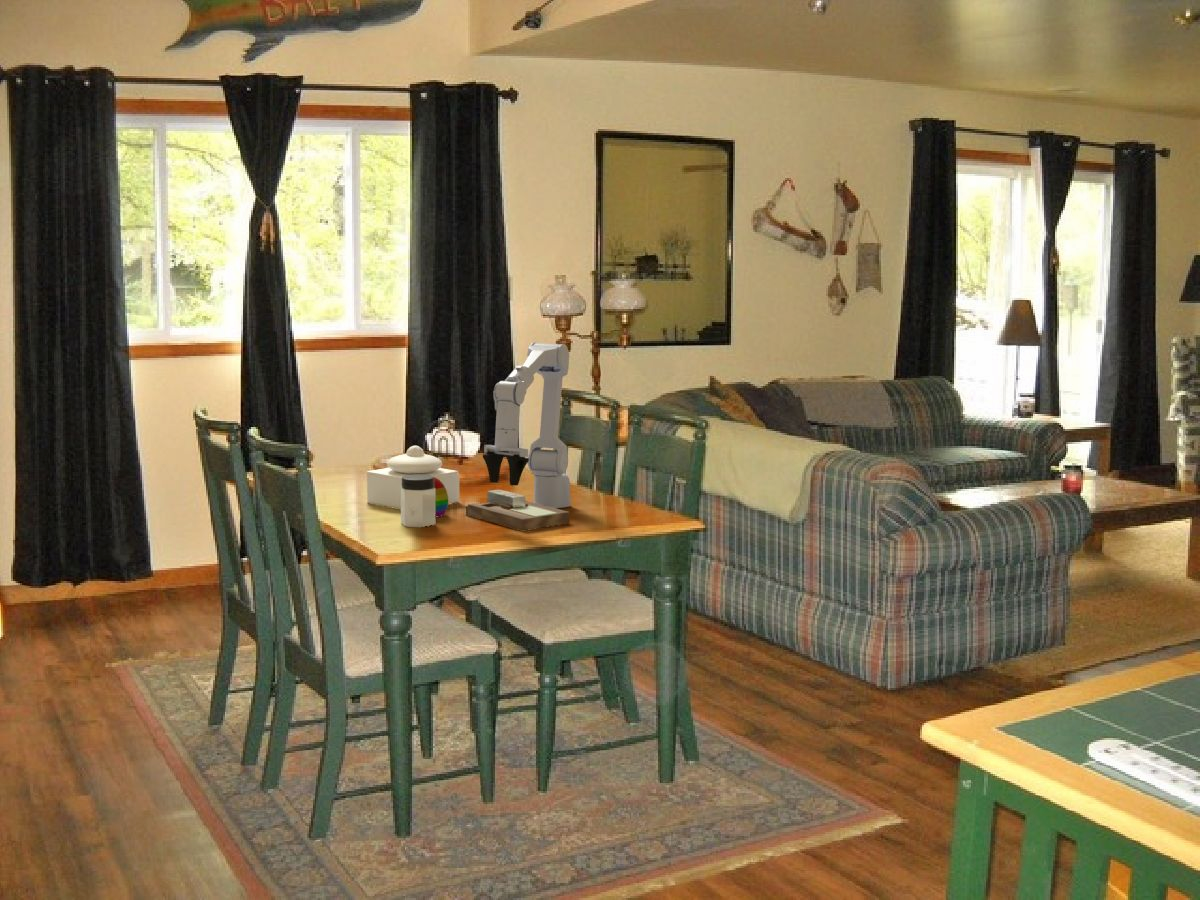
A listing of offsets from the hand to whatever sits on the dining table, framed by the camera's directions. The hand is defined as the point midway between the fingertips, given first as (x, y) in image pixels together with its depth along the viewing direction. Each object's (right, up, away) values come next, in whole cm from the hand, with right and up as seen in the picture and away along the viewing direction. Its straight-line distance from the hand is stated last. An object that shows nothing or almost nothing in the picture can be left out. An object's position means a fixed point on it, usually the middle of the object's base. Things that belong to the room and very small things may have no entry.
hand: (504, 483), depth 331 cm
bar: (0, -6, +13) cm, 14 cm away
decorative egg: (-20, -9, +14) cm, 25 cm away
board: (+3, -9, +10) cm, 14 cm away
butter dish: (-27, -6, +29) cm, 40 cm away
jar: (-22, -10, +2) cm, 24 cm away
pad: (+7, -7, +5) cm, 11 cm away
